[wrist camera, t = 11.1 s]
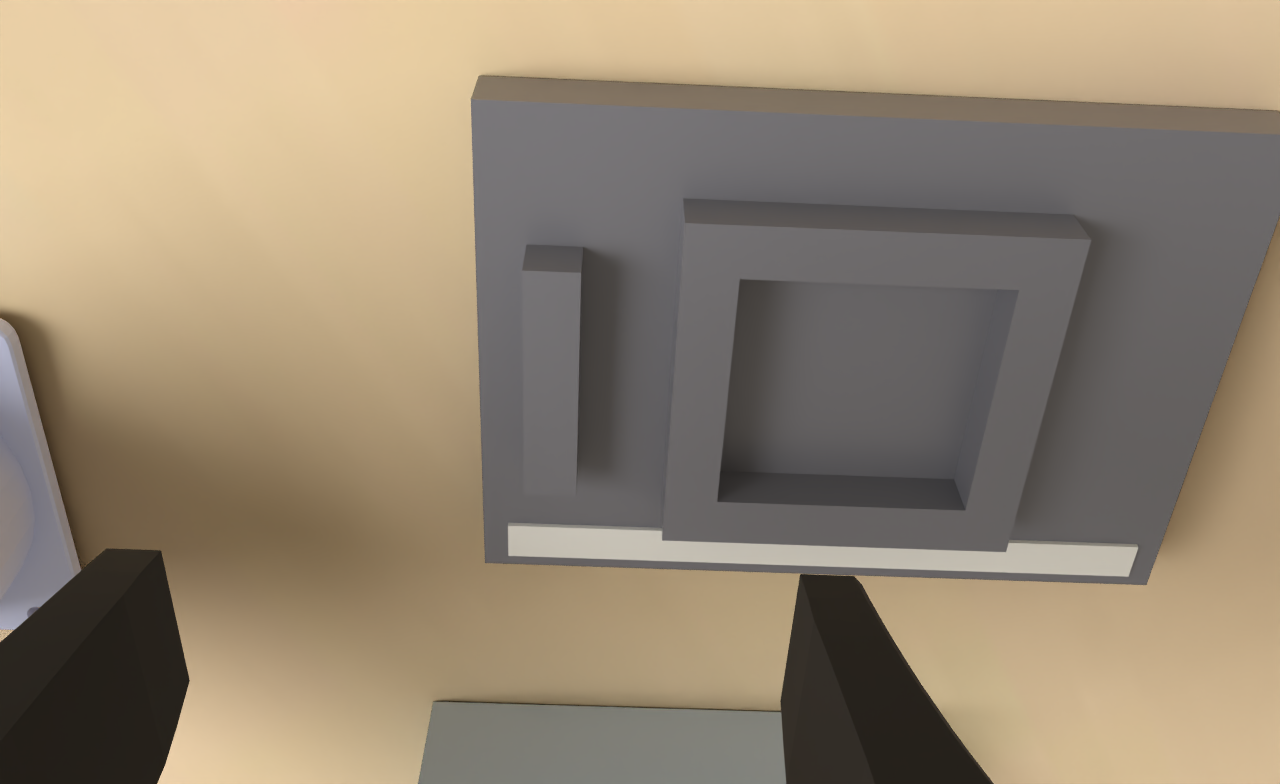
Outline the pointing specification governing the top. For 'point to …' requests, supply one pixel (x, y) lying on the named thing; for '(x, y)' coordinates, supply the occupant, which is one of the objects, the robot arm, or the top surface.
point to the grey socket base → (852, 324)
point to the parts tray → (600, 745)
